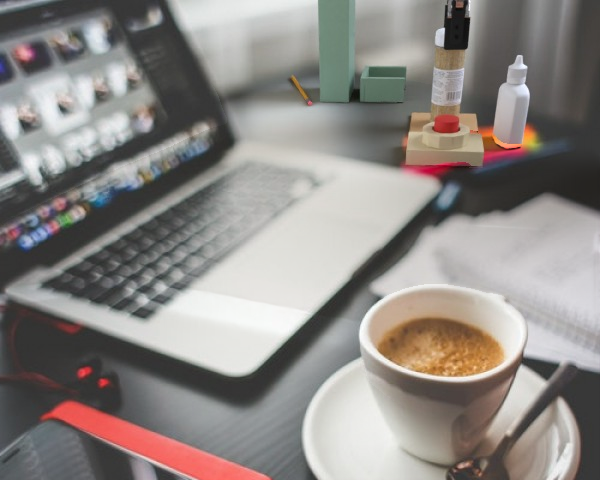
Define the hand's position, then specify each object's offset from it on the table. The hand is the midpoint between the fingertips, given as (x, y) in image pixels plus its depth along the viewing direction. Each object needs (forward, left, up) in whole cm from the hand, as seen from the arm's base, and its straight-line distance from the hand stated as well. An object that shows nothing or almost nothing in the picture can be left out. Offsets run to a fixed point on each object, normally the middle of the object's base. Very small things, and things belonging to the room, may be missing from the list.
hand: (454, 41), depth 89 cm
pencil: (+26, -18, -13) cm, 34 cm away
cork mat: (+1, 0, -13) cm, 13 cm away
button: (+1, +12, -9) cm, 15 cm away
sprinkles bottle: (0, 0, -12) cm, 12 cm away
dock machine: (+14, -16, -13) cm, 25 cm away
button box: (+1, +12, -13) cm, 17 cm away
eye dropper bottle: (-8, +6, -13) cm, 16 cm away
